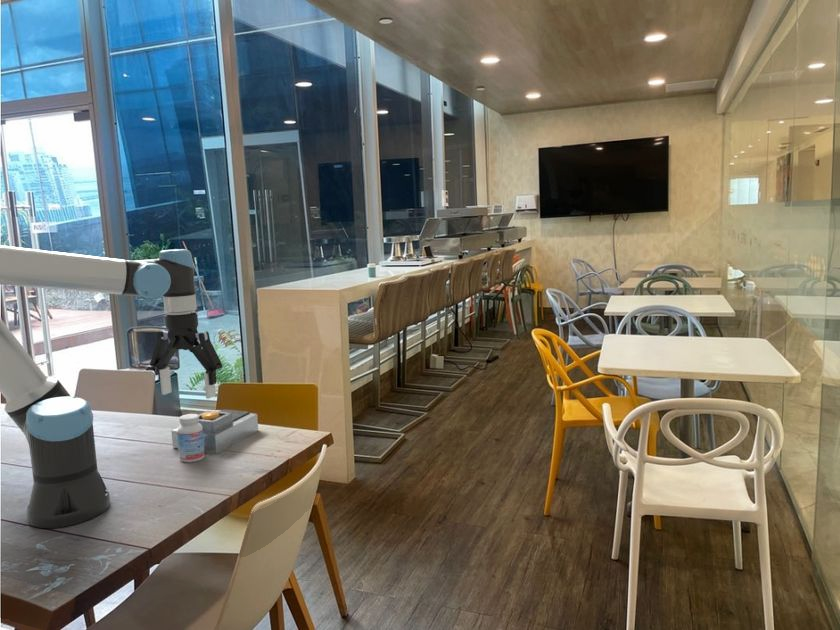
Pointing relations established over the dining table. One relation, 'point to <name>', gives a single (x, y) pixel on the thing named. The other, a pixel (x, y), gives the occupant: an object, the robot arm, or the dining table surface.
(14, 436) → the dining table surface
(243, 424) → the stepped grey tray base
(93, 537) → the dining table surface
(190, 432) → the pill bottle
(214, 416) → the button
